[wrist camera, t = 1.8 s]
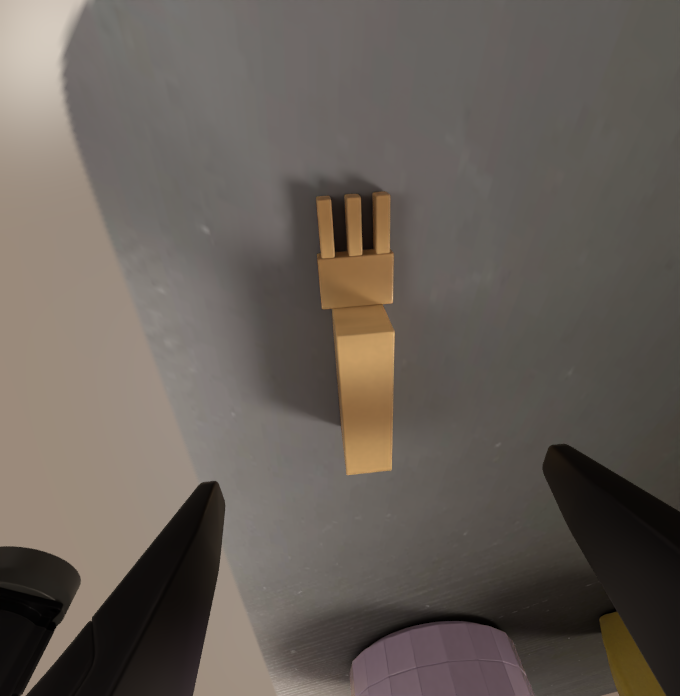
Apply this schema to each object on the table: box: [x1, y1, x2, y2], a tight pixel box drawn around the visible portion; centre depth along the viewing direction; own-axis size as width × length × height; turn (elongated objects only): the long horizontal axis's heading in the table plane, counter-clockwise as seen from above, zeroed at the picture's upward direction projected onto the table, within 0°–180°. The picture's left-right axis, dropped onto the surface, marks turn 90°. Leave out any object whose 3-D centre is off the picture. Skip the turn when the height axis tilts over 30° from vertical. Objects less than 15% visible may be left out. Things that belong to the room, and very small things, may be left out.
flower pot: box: [599, 611, 666, 696], centre depth 29 cm, size 9×9×9 cm
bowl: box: [350, 621, 535, 696], centre depth 32 cm, size 15×15×6 cm
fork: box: [316, 191, 395, 475], centre depth 14 cm, size 11×3×3 cm, turn 3°
